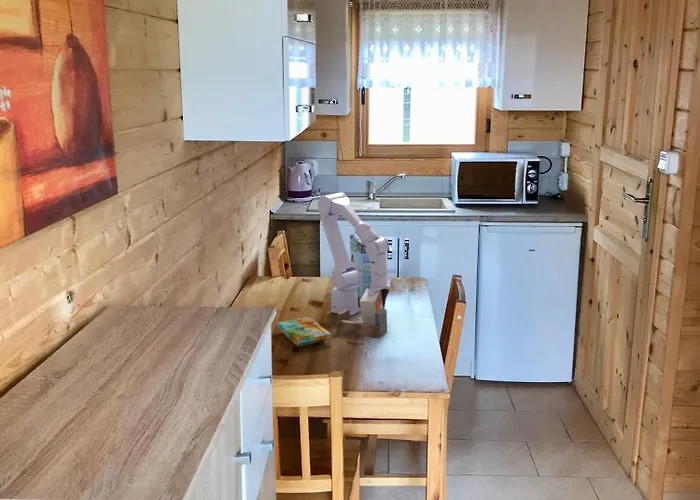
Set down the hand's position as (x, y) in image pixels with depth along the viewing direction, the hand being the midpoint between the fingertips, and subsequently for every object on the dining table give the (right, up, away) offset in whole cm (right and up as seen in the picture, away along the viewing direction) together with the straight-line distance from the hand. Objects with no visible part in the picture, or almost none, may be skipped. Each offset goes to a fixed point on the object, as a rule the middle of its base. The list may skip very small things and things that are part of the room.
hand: (381, 309), depth 249 cm
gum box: (-6, +3, +31) cm, 32 cm away
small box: (-3, -4, -2) cm, 5 cm away
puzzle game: (-26, -9, -13) cm, 31 cm away
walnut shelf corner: (-7, -7, -9) cm, 13 cm away
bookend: (0, -7, -13) cm, 15 cm away
